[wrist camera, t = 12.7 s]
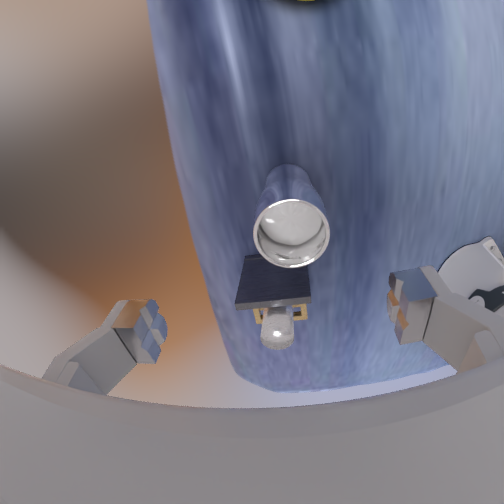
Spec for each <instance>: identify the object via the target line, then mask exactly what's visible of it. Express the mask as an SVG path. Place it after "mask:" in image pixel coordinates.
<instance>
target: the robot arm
mask: <svg viewBox="0 0 504 504" xmlns="http://www.w3.org/2000/svg"><path fill="white" fill-rule="evenodd" d="M389 285H390V287H391V290H390V291H389V293H388V294H387V310H388V314H389V318H390V320H391V321H392V322H393V323H395V330H394V331H395V333H396V336H397V339H398V341H399V344H400V345H402V344H408V343H413V342H418V341H422V340H423V342H424V343H425V344H426V345H427V346H429V347H430V348H431V349H432V350H433V351H435V352H436V353H437V354H438V355H439V356H440V357H442V358H443V359H444V360H445V361H446V362H447V363H449V364H450V365H451V366H452V367H453V368H454V369H456V370H457V373H456V375H453V376H450V377H447V378H444V379H440V380H437V381H434V382H431V383H427V384H423V385H419V386H416V387H412V388H408V389H404V390H399V391H396V392H391V393H386V394H381V395H376V396H372V397H366V398H360V399H354V400H347V401H341V402H333V403H325V404H316V405H308V406H307V405H306V406H295V407H280V408H249V409H248V408H247V409H246V408H240V409H239V408H205V407H189V406H177V405H167V404H158V403H149V402H142V401H135V400H129V399H123V398H117V397H112V396H107V394H108V393H109V392H110V391H111V390H112V389H113V388H114V387H115V386H116V385H117V384H118V383H119V382H120V381H121V379H122V378H124V377H125V376H126V375H127V374H128V373H129V372H130V371H131V370H132V368H134V367H135V366H136V365H137V364H136V363H145V364H146V363H147V364H155V363H156V361H157V359H158V356H159V354H160V352H161V349H160V345H161V344H162V343H163V342H165V340H166V337H167V325H166V321H165V319H164V317H163V316H161V315H160V314H159V313H158V309H159V307H158V305H157V303H156V302H155V301H154V300H152V299H144V300H122V301H118V302H117V303H116V304H115V306H114V308H113V309H112V311H111V312H110V313H109V315H108V317H107V318H106V319H105V321H104V323H103V324H102V325H101V327H100V328H96V329H95V330H93V331H92V332H90V333H89V334H88V335H86V336H85V337H83V338H82V339H80V340H79V341H78V342H76V343H75V344H73V345H72V346H70V347H69V348H67V349H66V350H65V351H64V352H62V353H60V354H59V355H58V356H56V357H55V358H54V359H53V361H52V363H51V364H50V366H49V367H48V369H47V370H46V372H45V374H44V375H43V377H42V379H41V378H37V377H35V376H31V375H29V374H26V373H23V372H20V371H17V370H15V369H12V368H9V367H7V366H4V365H2V364H0V504H504V257H503V256H502V254H501V252H500V250H499V248H498V247H497V245H496V243H495V242H494V240H493V239H492V238H491V237H486V238H485V239H483V240H482V241H480V242H479V243H476V244H470V245H467V246H464V247H462V248H460V249H459V250H457V251H456V252H455V253H453V254H452V255H451V256H450V257H449V258H448V259H447V260H446V261H445V263H444V264H443V265H442V267H441V268H440V270H439V272H438V273H437V271H436V270H435V269H434V267H433V266H431V265H428V266H423V267H418V268H415V269H410V270H404V271H398V272H392V273H390V276H389Z"/></svg>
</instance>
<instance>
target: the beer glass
mask: <svg viewBox="0 0 504 504" xmlns="http://www.w3.org/2000/svg"><path fill="white" fill-rule="evenodd" d="M253 237H254V242H255V245H256V247H257V249H258V251H259V252H260V254H261V255H262V256H263V257H264V258H265V259H266V260H268V261H269V262H271V263H273V264H275V265H277V266H280V267H285V268H298V267H302V266H306V265H308V264H310V263H312V262H314V261H315V260H317V259H318V258H319V257H320V256H321V255H322V254H323V252H324V251H325V249H326V248H327V245H328V243H329V238H330V228H329V224H328V218H327V213H326V210H325V206H324V203H323V201H322V199H321V197H320V195H319V194H318V193H317V191H316V190H315V189H314V188H313V187H312V186H311V181H310V178H309V176H308V174H307V173H306V172H305V171H304V170H303V169H302V168H301V167H299V166H297V165H294V164H282V165H279V166H277V167H275V168H274V169H272V170H271V171H270V173H269V174H268V176H267V178H266V182H265V190H264V191H263V193H262V194H261V196H260V198H259V200H258V203H257V206H256V210H255V216H254V231H253Z"/></svg>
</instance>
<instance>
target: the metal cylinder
mask: <svg viewBox="0 0 504 504" xmlns="http://www.w3.org/2000/svg"><path fill="white" fill-rule="evenodd" d="M293 341H294V324H293V305H289V306H279V307H269V308H264V310H263V320H262V330H261V342H262V343H263V345H265V346H266V347H268V348H270V349H276V350H279V349H285V348H287V347H289V346H290V345H291V344H292V343H293Z"/></svg>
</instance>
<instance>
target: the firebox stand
mask: <svg viewBox="0 0 504 504" xmlns="http://www.w3.org/2000/svg"><path fill="white" fill-rule="evenodd" d="M307 303H311V295H310V286H309V278H308V269H307V265H306V266H302V267H298V268H285V267H280V266H277V265H275V264H273V263H271V262H269V261H268V260H266V259H265V258H264V257H263V256H262V255H261V254H259V255H251V256H245V259H244V264H243V269H242V273H241V278H240V282H239V287H238V291H237V295H236V300H235V307H236V310H246V309H253V312H254V315H255V319H256V323H257V324H261V323H262V320H263V315H261V310H264V308H269V307H279V306H289V305H293V307H301V311H299V312H293V321H294V320H304V319H307V308H306V304H307Z"/></svg>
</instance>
